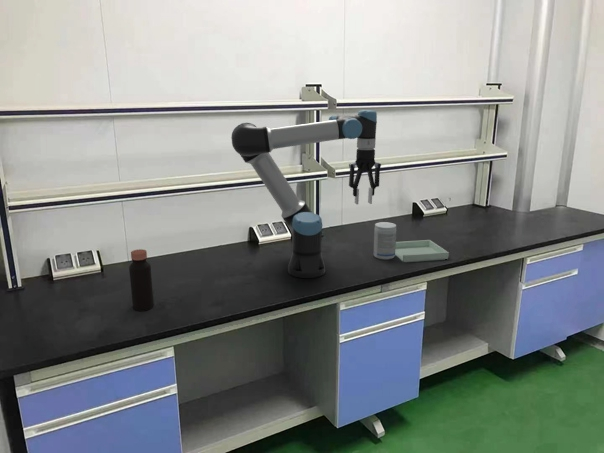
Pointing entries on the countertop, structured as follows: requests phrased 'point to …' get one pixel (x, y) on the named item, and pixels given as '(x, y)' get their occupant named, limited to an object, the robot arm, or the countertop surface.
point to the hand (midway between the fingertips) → (363, 203)
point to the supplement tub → (384, 240)
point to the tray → (419, 251)
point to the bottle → (141, 281)
